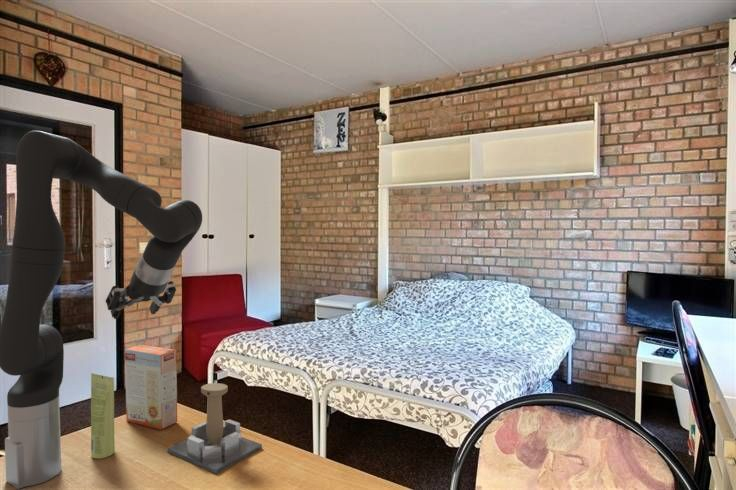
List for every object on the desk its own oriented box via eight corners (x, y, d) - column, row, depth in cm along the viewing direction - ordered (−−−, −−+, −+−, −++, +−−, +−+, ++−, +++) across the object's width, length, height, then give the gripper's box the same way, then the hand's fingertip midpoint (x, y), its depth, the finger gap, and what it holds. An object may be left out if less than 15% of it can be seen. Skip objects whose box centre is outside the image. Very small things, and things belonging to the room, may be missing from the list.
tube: (119, 447, 114) (117, 370, 113) (115, 457, 110) (113, 377, 108) (93, 451, 112) (91, 372, 111) (88, 461, 108) (86, 379, 107)
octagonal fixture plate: (216, 474, 102) (215, 452, 102) (167, 452, 112) (167, 432, 112) (261, 448, 114) (261, 428, 114) (214, 430, 124) (213, 412, 123)
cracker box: (178, 422, 129) (177, 349, 128) (161, 431, 123) (159, 354, 122) (143, 413, 134) (142, 343, 133) (125, 421, 129) (123, 348, 128)
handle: (220, 453, 110) (219, 391, 109) (197, 449, 111) (196, 388, 111) (232, 443, 114) (231, 384, 113) (210, 440, 116) (209, 382, 115)
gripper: (179, 257, 110) (158, 298, 118) (115, 260, 99) (97, 304, 108) (189, 282, 106) (167, 322, 115) (124, 287, 96) (105, 331, 104)
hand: (133, 313), depth 111 cm, fingers open, 8 cm apart
